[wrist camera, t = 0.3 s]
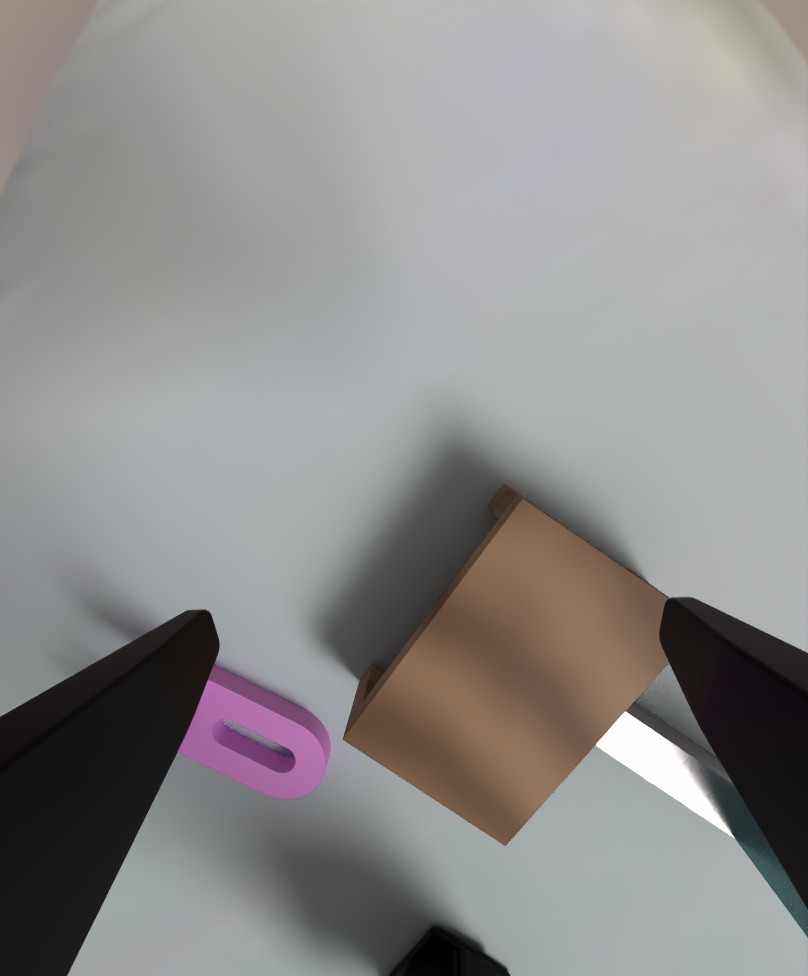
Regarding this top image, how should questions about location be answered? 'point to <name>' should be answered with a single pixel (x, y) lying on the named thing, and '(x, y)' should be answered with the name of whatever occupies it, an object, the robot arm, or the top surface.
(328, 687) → the top surface
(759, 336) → the top surface
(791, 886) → the teal angled piece
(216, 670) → the bracket
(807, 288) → the top surface
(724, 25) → the top surface
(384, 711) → the stand
